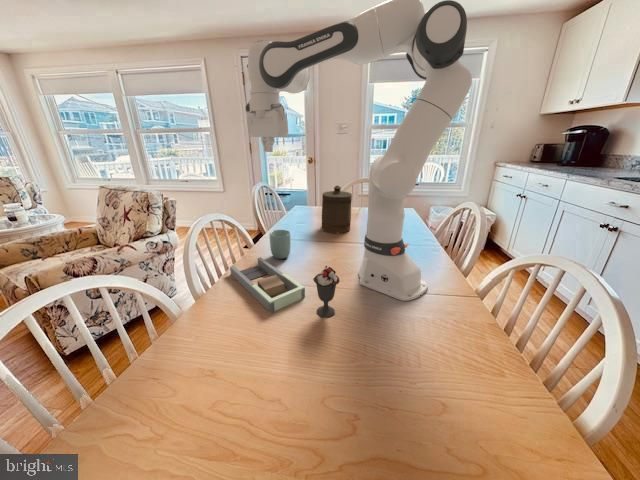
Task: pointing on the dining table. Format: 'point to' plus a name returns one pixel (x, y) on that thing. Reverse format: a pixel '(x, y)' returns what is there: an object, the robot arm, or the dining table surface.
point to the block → (271, 286)
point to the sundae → (326, 290)
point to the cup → (280, 243)
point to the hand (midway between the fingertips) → (268, 152)
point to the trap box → (269, 303)
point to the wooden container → (336, 211)
